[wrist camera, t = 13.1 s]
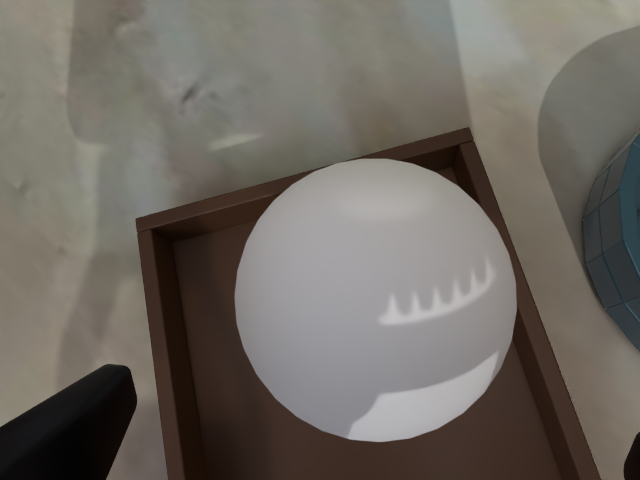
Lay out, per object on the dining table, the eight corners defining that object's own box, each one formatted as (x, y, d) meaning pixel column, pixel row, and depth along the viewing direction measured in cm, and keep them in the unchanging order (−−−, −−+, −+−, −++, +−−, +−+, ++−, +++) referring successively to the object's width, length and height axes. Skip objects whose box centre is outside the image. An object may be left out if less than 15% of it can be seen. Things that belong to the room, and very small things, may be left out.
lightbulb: (285, 275, 20) (168, 152, 9) (435, 236, 20) (485, 64, 9) (319, 435, 18) (220, 501, 8) (485, 396, 18) (623, 409, 7)
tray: (619, 596, 16) (659, 633, 14) (225, 682, 17) (198, 731, 14) (460, 155, 21) (469, 126, 19) (162, 236, 22) (134, 218, 19)
